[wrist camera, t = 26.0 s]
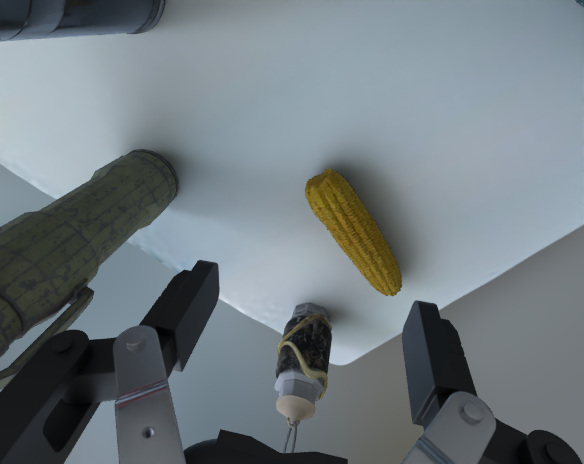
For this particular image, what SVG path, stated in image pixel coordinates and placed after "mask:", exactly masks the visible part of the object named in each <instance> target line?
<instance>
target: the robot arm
mask: <svg viewBox="0 0 584 464" xmlns="http://www.w3.org/2000/svg"><path fill="white" fill-rule="evenodd" d="M164 5H165V0H0V41H14V40H30V39H43V38H58V37H74V36H89V35H105V34H120V33H127V34H137V33H143V32H145V31H147V30H149V29H151V28H152V27H153V26H154V25H155V24H156V23H157V22H158V20H159V19H160V17H161V15H162V12H163V9H164ZM218 297H219V271H218V264H217V263H214V262H209V261H203V260H199V261H197V263H196V264H195V266H194V267H193V269H192V270H191V271H188V270H183V271H182V272H180V273H179V274H177V275H176V276H174V277H173V279H172V280H171V281H170V283H169V284H168V286H167V288H165V290H164V291H163V293H162V295H161V296H160V297H159V298H158V300H157V301H156V302H155V304H154V305H153V306H152V308H151V309H150V310H149V312H148V314H147V315H146V316H145V317H144V319H143V320H142V321H141V323H140V324H139V325H138V326H135V327H131V328H129V329H127V330H125V331H124V332H122V333H121V334H120V335H119V336H118V337H116V338H108V339H95V340H89V338H88V336H87V334H86V333H84V332H83V331H80V330H67V331H63V332H60V333H58V334H56V335H54V336H52V337H51V338H49V339H48V340H47V341H46V342H45V343H44V344H43V345H42V346H41V347H40V348H39V349H38V351H37V352H36V353H35V354H34V355H33V356H32V357H31V358H30V359H29V361H28V362H27V363H26V364H25V365H24V366H23V367H22V368H21V370H20V371H19V372H18V373H17V374H16V375H15V376H14V377H13V379H12V380H11V381H10V382H9V383H8V384H7V385H6V386H5V387H4V389H3V390H2V391H1V392H0V464H64V462H65V460H66V458H67V457H68V455H69V454H70V452H71V451H72V449H73V447H74V446H75V444H76V442H77V441H78V439H79V438H80V436H81V434H82V432H83V431H84V429H85V428H86V426H87V424H88V423H89V421H90V419H91V418H92V416H93V415H94V413H95V411H96V410H97V408H98V406H99V405H100V403H101V402H102V401H111V400H116V401H115V416H116V429H117V443H118V455H119V464H347V463H348V460H347V459H345V458H340V457H336V456H332V455H328V454H324V453H319V452H300V453H279V452H277V451H276V450H274V449H272V448H270V447H269V446H267V445H265V444H263V443H261V442H260V441H258V440H256V439H254V438H253V437H251V436H246V435H242V434H238V433H234V432H229V431H225V430H220V432H219V435H218V438H217V439H212V440H206V441H202V442H200V443H197V444H194V445H192V446H190V447H188V448H187V449H185V450H183V447H182V443H181V438H180V433H179V429H178V425H177V420H176V415H175V411H174V407H173V402H172V397H171V392H170V388H169V384H168V378H169V376H170V374H171V372H172V370H175V371H180V372H182V371H183V369H184V367H185V365H186V363H187V361H188V359H189V357H190V355H191V353H192V351H193V349H194V347H195V345H196V343H197V341H198V339H199V337H200V335H201V333H202V331H203V330H204V328H205V326H206V323H207V321H208V319H209V318H210V316H211V314H212V312H213V310H214V308H215V306H216V304H217V301H218ZM402 343H403V352H404V360H405V367H406V375H407V383H408V391H409V399H410V407H411V415H412V423H413V424H417V425H421V426H423V427H424V433H423V434H422V436H421V437H420V438H419V439H418V440H417V441H416V443H415V444H414V446H413V447H412V448H411V450H410V451H409V452H408V454H407V455H406V457H405V458H404V459H403V461H402V462H401V464H582V462H581V460H580V458H579V457H578V455H577V454H576V453H575V451H574V450H573V449H572V448H571V447H570V446H569V445H568V444H567V443H566V442H565V441H564V440H562V439H561V438H559V437H558V436H556V435H554V434H552V433H550V432H547V431H544V430H534V431H532V432H531V433H530V434H529V435H526V434H524V433H522V432H520V431H518V430H516V429H514V428H512V427H510V426H508V425H506V424H504V423H502V422H501V421H499V420H498V419H496V418H495V417H494V415H493V413H492V411H491V410H490V408H489V407H488V406H487V405H486V404H485V403H484V402H483V401H482V400H481V399H479V398H478V396H477V393H476V390H475V387H474V384H473V381H472V377H471V374H470V371H469V368H468V364H467V361H466V358H465V357H464V351H463V348H462V346H461V342H460V338H459V335H458V332H457V330H456V329H455V328H454V326H453V325H452V324H451V323H450V321H449V320H446V319H441V318H440V315H439V311H438V307H437V305H436V304H434V303H428V302H423V301H417V300H416V301H414V303H413V305H412V308H411V310H410V313H409V315H408V318H407V320H406V322H405V325H404V328H403V333H402Z"/></svg>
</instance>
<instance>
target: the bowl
mask: <svg viewBox="0 0 584 464" xmlns="http://www.w3.org/2000/svg"><path fill="white" fill-rule="evenodd" d="M575 1H576V2H577V3H579V4H580V5H581V6H583V7H584V0H575Z"/></svg>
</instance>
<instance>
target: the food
mask: <svg viewBox="0 0 584 464" xmlns="http://www.w3.org/2000/svg"><path fill="white" fill-rule="evenodd" d="M305 194H306V198H307V200H308V203H309V205H310V207H311V209H312V210H313V212H314V214H315V215H316V216H317V217H318V218H319V219H320V221H322V222H323V223H324V224H325V225H326V227H327V230H329V231H330V233H331V234H332V236H333V238H335V240H336V242H337V243H338V244H339V245H340V247H341V248H342V249H343V251H344V252H345V253H346V254H347V256H348V257H349V258H350V259H351V260H352V262H353V264H354V265H356V267H357V268H358V269H359V271H360V272H361V274H362V275H363V276H364V277H365V278H366V280H368V281H369V283H370V285H372V286H373V287H374V288H375V289H376V290H377V291H379V292H381V293H382V294H384V295H386V296H388V295H391V296H394V295H396V294H397V292H399V291H401V289H400V288H401V287H402V284H401V283H402V279H401V277H402V276H401V273H400V269H399V267H398V264H397V261H396V260H395V257H394V254H393V252H392V251H391V248H390V246H389V245H388V243H387V242H386V240H385V238H384V236H383V235H382V233H381V232H380V230H379V228H378V227H377V225H376V223H375V221H374V220H373V218H372V217H371V215H370V214H369V212H368V210H367V209H366V208H365V207H364V206H365V205H363V203H362V201H361V200H360V199H359V197H358V196H357V194H356V192H355V190H354V189H353V187H352V186H351V185H350V184H349V183H348V181H347V180H346V179H345V178H344V177H343V176H342V175H340V174H339V173H338V172H335V171H334V170H330V169H326V170H325V172H324V173H322V174H321V175H318V176H314V177H313V178H312V179H309V180H308V181H307V184H306V187H305Z"/></svg>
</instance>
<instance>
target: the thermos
mask: <svg viewBox="0 0 584 464" xmlns="http://www.w3.org/2000/svg"><path fill="white" fill-rule="evenodd" d="M178 189H179V187H178V179H177V176H176V173H175V171H174V170H173V168H172V167H171V165H170V164H169V163H168V162H167V161H166V160H165V159H164V158H163V157H162V156H160V155H158V154H156V153H154V152H152V151H148V150H143V149H141V150H134V151H132V152H130V153H129V154H127V155H125V156H121V157H119V158H118V159H116V160H114V161H112V162H111V163H109V164H107V165H105V166H104V167H102V168H100V169H98V170H97V171H95V173H94V175H93V176H92V178H91V180H89V181H88V182H86V183H84V184H83V185H81V186H79V187H78V188H76V189H74V190H73V191H71V192H69V193H68V194H66V195H64V196H63V197H61V198H59V199H58V200H56V201H54V202H53V203H51V204H50V205H48V206H46V207H44V208H43V209H41V210H39V211H37V212H27V213H24V214H23V215H21V216H19V217H17V218H15V219H14V220H12V221H10V222H8V223H7V224H5V225H3V226H1V227H0V357H1V356H2V355H4V354H5V352H6V351H7V350H8V349H9V345H10V344H12V343H13V342H14V341H15V340H16V339H19V338H22V337H23V336H24V335H25V334H26V333H27V332H28V331H29V330H30V329H31V328H33V327H34V326H37V325H39V324H40V323H42V322H44V321H46V320H48V319H50V318H52V317H54V316H55V315H56V314H57V313H58V312H59V311H60V310H61V309H62V308H63V307H64V306H65V305H66V304H68V303H69V304H72V303H73V302H74V301H75V300H76V299H77V300H76V301H75V302H74V303H73V304H72V305H71V306H70V307H69V308H67V309H66V311H64V312H63V314H61V315H60V316H59V317H58V318H57V320H55V321H54V322H53V323H52V324H51V325H50V326H49V327H48V328H47V329H46V330H45V331H44V332H43V333H42V334H41V335H40V336H39V337H38V338H37V339H36V340H35V341H34V342H33V343H32V344H31V345H30V346H29V347H28V348H27V349H26V350H25V351H24V352H23V353H22V354H21V355H20V356H19V357H18V358H17V359H16V360H15V361H14V362H13V363H12V364H11V365H10V366H9V367H8V368H6V369H4V370H2V371H0V389H2V388H4V387H5V386H6V385H7V384H8V383H9V382H10V381H11V380H12V379H13V377H14V376H15V375H16V374H17V373H18V372H19V371H20V370H21V368H22V367H23V366H24V365H25V364H26V363H27V362H28V361H29V359H30V358H31V357H32V356H33V355H34V354H35V353H36V352H37V351H38V349H39V348H40V347H41V346H42V345H43V344H44V343H45V342H46V341H47V340H48V339H49V338H51V337H52V336H54V335H56V334H58V333H60V332H63V331H66V330H67V329H68V327H69V326H70V325H71V324H72V323H73V322H74V321H75V320H76V319H77V318H78V317H79V316H80V314H81V313H82V312H83V311H84V310H85V309H86V307H87V306H88V305H89V303H90V302H91V300H92V299H93V295H94V291H93V290H92V289H90V288H88V287H87V284H88V283H89V282H90V281H91V280H92V279H93V278H94V277H95V275H96V274H97V271H98V268H99V266H100V265H101V264H102V263H103V262H104V261H105V260H106V259H107V258H109V257H110V255H112V254H113V253H114V252H115V251H116V250H117V249H118V248H119V247H120V246H121V245H122V244H123V243H124V242H125V241H126V240H128V239H129V238H130V237H131V236H132V235H133V234H134V233H135V232H136V231H137V230H138V229H141V228H143V227H146V226H148V225H150V224H151V223H152V222H153V221H154V220H155V219H156V218H157V217H158V216H159V215H160V214H161V213H162V212H163V211H164V210H165V209H166V208H167V206H168V205H169V203H171V202H172V200H173V199H174V198H175V197H176V196H177V192H178Z"/></svg>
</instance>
